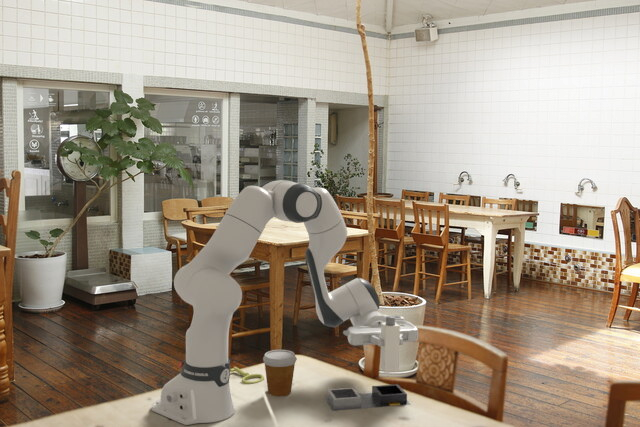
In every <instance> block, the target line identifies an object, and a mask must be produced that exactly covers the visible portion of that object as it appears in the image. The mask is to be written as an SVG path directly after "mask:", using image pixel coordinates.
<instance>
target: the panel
mask: <svg viewBox="0 0 640 427" xmlns="http://www.w3.org/2000/svg"><path fill="white" fill-rule="evenodd" d="M326 393H327V394H326V396H323V398H324V400H325V401H326V402H327V404H328V406H329V408H330V409H331V410H332V411H331V412H335V411H346V410H359V409H373V408H386V407H399V406H409V405H411V403H410V402H409V401H408V394H407V392H406V391H405V390H404V389H403V388H402V387H401V386H400V385H399V384H397V383H395V384H385V385H384V384H381V385H372V386H371V392H370V393H369V392H367V393H366V392H365V393H359V392H358V391H357V390H356V389H355V387H344V388H343V387H342V388H341V387H340V388H329V389H327V392H326Z"/></svg>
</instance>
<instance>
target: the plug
mask: <svg viewBox="0 0 640 427" xmlns="http://www.w3.org/2000/svg"><path fill="white" fill-rule="evenodd" d="M394 316H395V315H390V316H386V322H385V323H381V338H382V339H384V346H380V369H381V370H382V371H383V373H385V374H386V373H387V374H389V373H399V372H400V345H399V341H400V326H399V325H398V324H397V323H396V322H395V317H394Z"/></svg>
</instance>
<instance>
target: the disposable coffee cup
mask: <svg viewBox="0 0 640 427" xmlns="http://www.w3.org/2000/svg"><path fill="white" fill-rule="evenodd" d="M297 360H298V359H297V357H296V354H295V352H294V351H292V350H288V349H273V350H269V351H267V352H265V353H264V356H263V357H262V361H263V363H264V370H265V377H266V385H267V393H268V395H270V396H273V397H286V396H289V395H290V394H292V388H293V387H292V386H293V381H294V379H293V378H294V374H295V373H294V372H295V366H296V365H295V364H296V363H297V362H296V361H297Z"/></svg>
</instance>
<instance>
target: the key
mask: <svg viewBox="0 0 640 427" xmlns="http://www.w3.org/2000/svg"><path fill="white" fill-rule="evenodd" d="M232 372H236V373H238V375H241V376H242V377H241V383H242V384H244V385H245V384H246V385H251V384H252V385H253V384H258V383H261V382H263V381H264V380H265V376H264V375H263V374H260V373H252V374H250V373H249V372H245V371H244V370H242V369H241V368H239V367H237V366H233V368H230V373H232ZM254 378H259V379H257V380H253V381H249V380H250V379H251V380H252V379H254Z"/></svg>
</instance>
